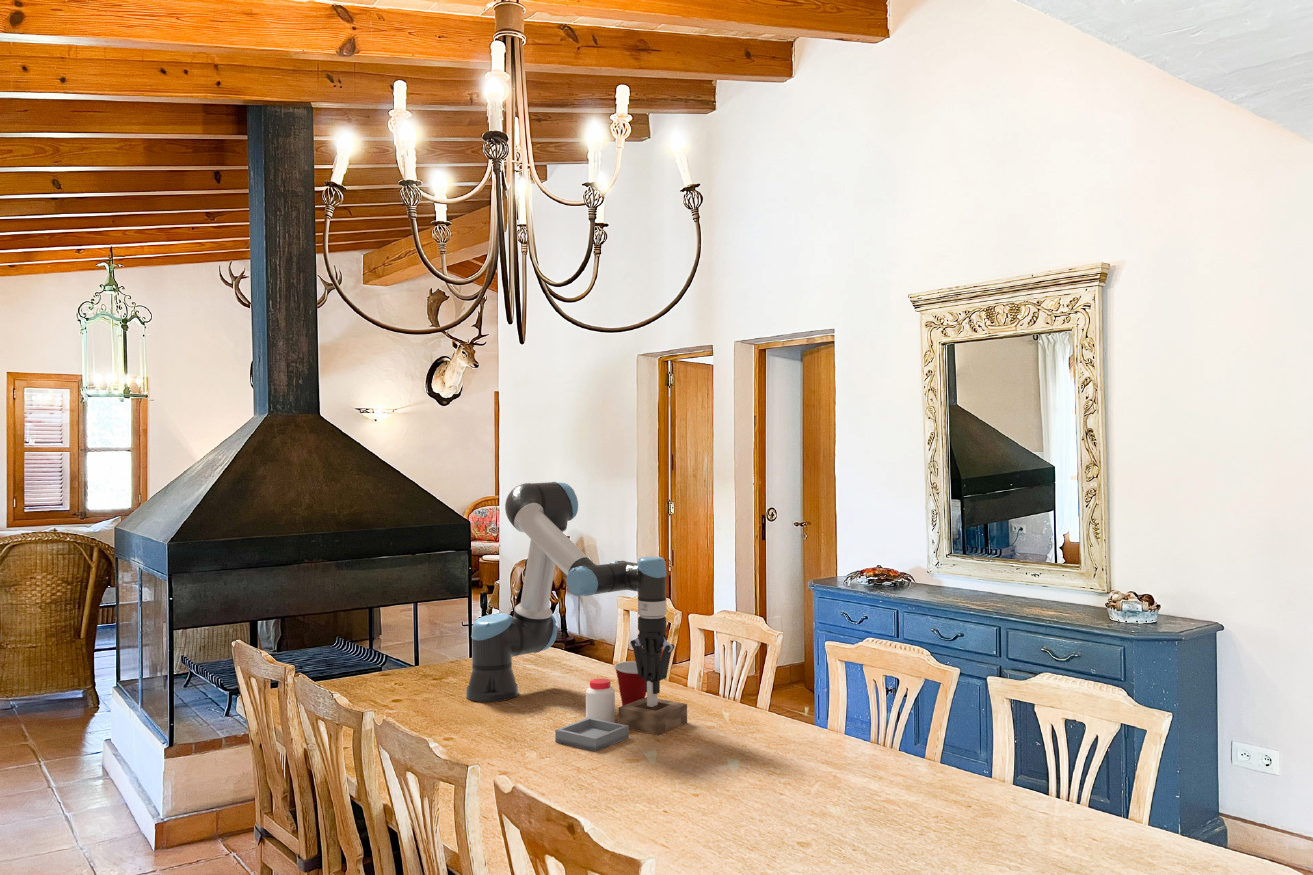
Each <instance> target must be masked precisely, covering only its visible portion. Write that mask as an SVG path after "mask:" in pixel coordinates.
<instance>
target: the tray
mask: <svg viewBox="0 0 1313 875" xmlns="http://www.w3.org/2000/svg"><path fill="white" fill-rule="evenodd" d="M629 732H630V729H629V726H627V725H623V724H618V722H617V723H616V722H615V723H613V722H608V721H603V720H599V719H594V718H586V717H585V718H584V719H581V720H579V721H576V722H573V723H571V724H567V725H565V726H562V727H559V728H556V729H555V733H554V734H555V735H554V736H555V738H554V739H555V743H558V744H563V745H567V746H571V747H574V748H575V747H576V748H580V749H583V750H588V751H593V752H598V751H600V750H603V749H605V748H608V747H609V746H613V745H615V744H617V743H619V742H622V741H625V740H626V739H629V737H630V736H629Z"/></svg>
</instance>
